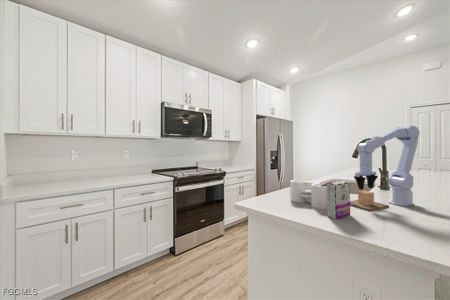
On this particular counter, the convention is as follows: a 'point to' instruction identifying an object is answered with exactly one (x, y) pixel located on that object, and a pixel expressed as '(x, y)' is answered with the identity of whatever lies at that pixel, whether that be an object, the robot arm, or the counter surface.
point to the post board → (368, 208)
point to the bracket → (309, 193)
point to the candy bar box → (338, 199)
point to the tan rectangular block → (366, 198)
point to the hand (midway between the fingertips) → (365, 188)
